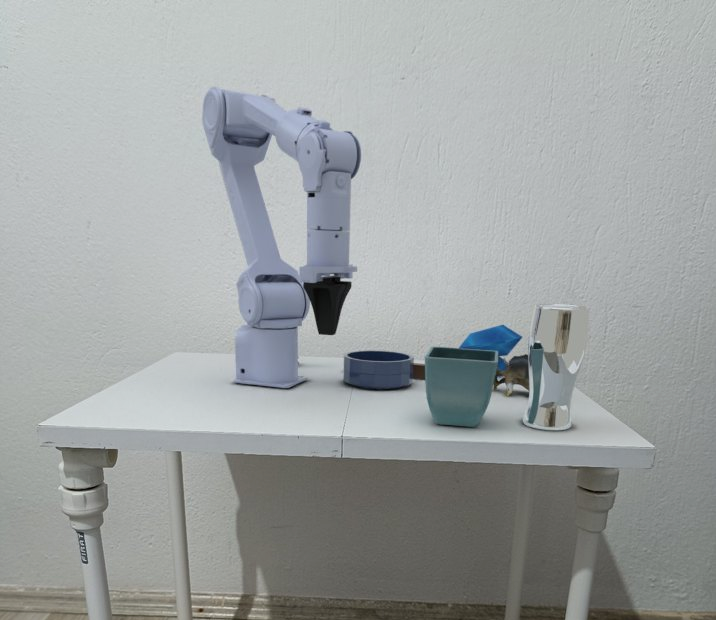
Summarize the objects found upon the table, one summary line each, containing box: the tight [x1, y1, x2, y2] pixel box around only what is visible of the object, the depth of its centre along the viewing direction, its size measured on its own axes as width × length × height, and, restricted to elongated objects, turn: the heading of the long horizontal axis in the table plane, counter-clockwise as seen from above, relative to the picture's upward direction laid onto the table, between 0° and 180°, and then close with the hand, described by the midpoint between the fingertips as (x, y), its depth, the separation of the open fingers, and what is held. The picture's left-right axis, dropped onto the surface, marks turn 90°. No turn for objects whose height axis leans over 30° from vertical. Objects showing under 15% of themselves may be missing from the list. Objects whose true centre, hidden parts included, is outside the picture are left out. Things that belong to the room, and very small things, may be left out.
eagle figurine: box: [492, 353, 529, 397], centre depth 103 cm, size 8×7×9 cm
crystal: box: [458, 324, 523, 377], centre depth 118 cm, size 7×9×12 cm
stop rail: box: [413, 362, 426, 381], centre depth 115 cm, size 16×2×2 cm, turn 71°
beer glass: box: [522, 303, 590, 431], centre depth 84 cm, size 7×7×15 cm
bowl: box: [342, 349, 415, 390], centre depth 107 cm, size 11×11×4 cm
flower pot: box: [424, 346, 498, 428], centre depth 85 cm, size 9×9×9 cm
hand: (327, 334), depth 93 cm, fingers closed
